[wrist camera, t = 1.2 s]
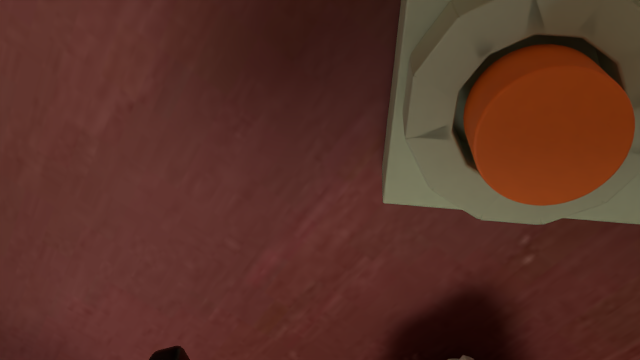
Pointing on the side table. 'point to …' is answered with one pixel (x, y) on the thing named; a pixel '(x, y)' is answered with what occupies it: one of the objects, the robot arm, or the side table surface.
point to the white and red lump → (463, 358)
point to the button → (547, 125)
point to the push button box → (459, 77)
